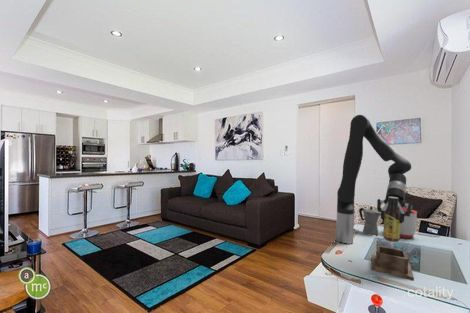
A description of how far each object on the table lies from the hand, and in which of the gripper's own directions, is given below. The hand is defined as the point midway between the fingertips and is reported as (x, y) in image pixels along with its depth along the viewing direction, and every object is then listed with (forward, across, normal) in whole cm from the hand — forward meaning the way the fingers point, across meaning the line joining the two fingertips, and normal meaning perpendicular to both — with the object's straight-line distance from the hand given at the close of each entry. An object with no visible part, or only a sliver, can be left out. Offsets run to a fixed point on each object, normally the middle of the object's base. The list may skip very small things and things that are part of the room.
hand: (391, 220), depth 104 cm
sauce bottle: (+6, 0, +8) cm, 10 cm away
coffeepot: (-20, -19, +52) cm, 59 cm away
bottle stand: (+14, 0, +16) cm, 22 cm away
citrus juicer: (-28, -3, +60) cm, 66 cm away
